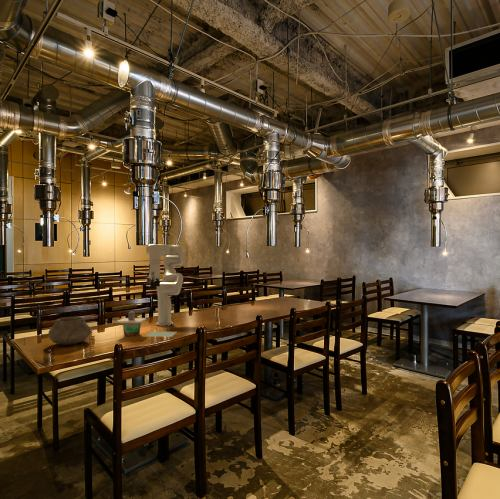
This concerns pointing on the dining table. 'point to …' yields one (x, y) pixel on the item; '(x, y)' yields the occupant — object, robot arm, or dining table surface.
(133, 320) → the lid
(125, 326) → the food container
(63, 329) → the grey rounded lump
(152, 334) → the mat
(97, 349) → the dining table surface
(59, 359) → the dining table surface
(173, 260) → the robot arm
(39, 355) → the dining table surface
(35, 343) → the dining table surface
